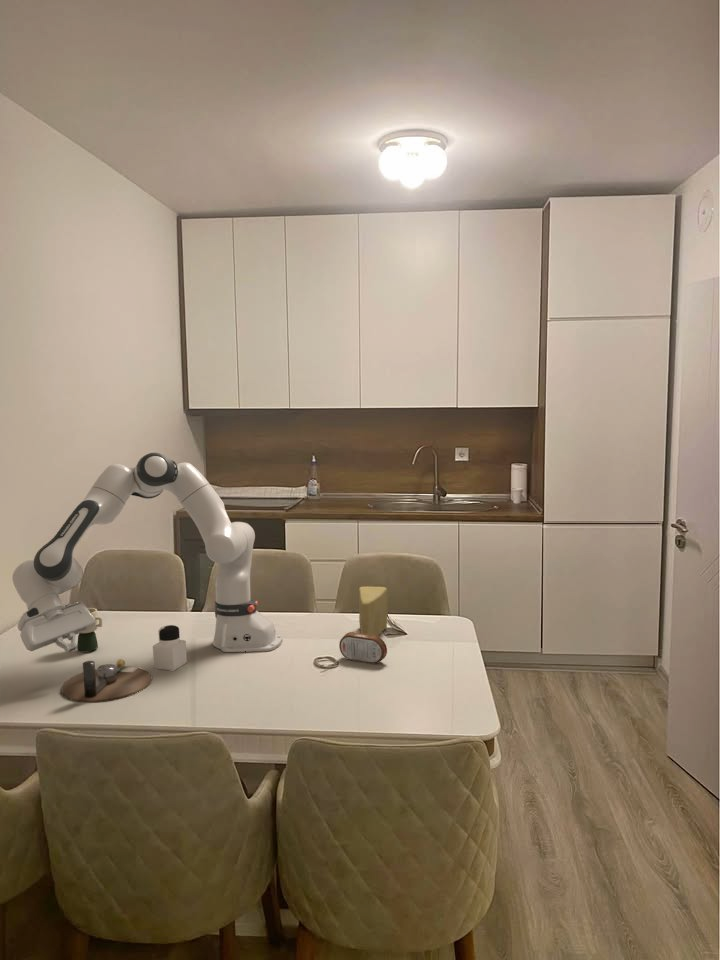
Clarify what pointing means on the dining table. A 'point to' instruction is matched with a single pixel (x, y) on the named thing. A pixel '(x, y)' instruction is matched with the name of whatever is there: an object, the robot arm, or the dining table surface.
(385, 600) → the cheese
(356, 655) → the tin
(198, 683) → the dining table surface
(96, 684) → the crank lever
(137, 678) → the stand
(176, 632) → the medicine bottle
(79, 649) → the character mug
